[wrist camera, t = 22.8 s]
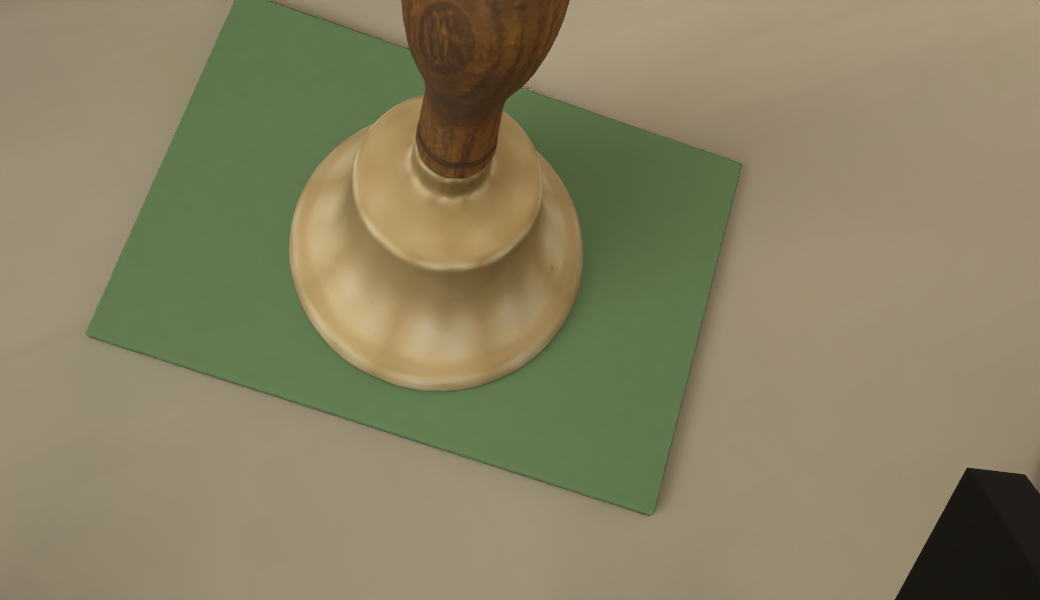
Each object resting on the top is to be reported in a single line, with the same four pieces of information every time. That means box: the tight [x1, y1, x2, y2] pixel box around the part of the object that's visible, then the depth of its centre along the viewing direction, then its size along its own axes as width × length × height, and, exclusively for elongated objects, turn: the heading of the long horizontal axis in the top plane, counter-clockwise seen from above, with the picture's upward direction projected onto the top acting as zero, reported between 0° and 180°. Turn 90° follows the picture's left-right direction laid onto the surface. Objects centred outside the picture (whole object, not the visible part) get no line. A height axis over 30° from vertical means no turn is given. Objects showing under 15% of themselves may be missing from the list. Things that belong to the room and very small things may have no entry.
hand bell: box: [289, 0, 583, 391], centre depth 19 cm, size 8×8×16 cm
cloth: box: [86, 0, 742, 516], centre depth 26 cm, size 16×11×1 cm
